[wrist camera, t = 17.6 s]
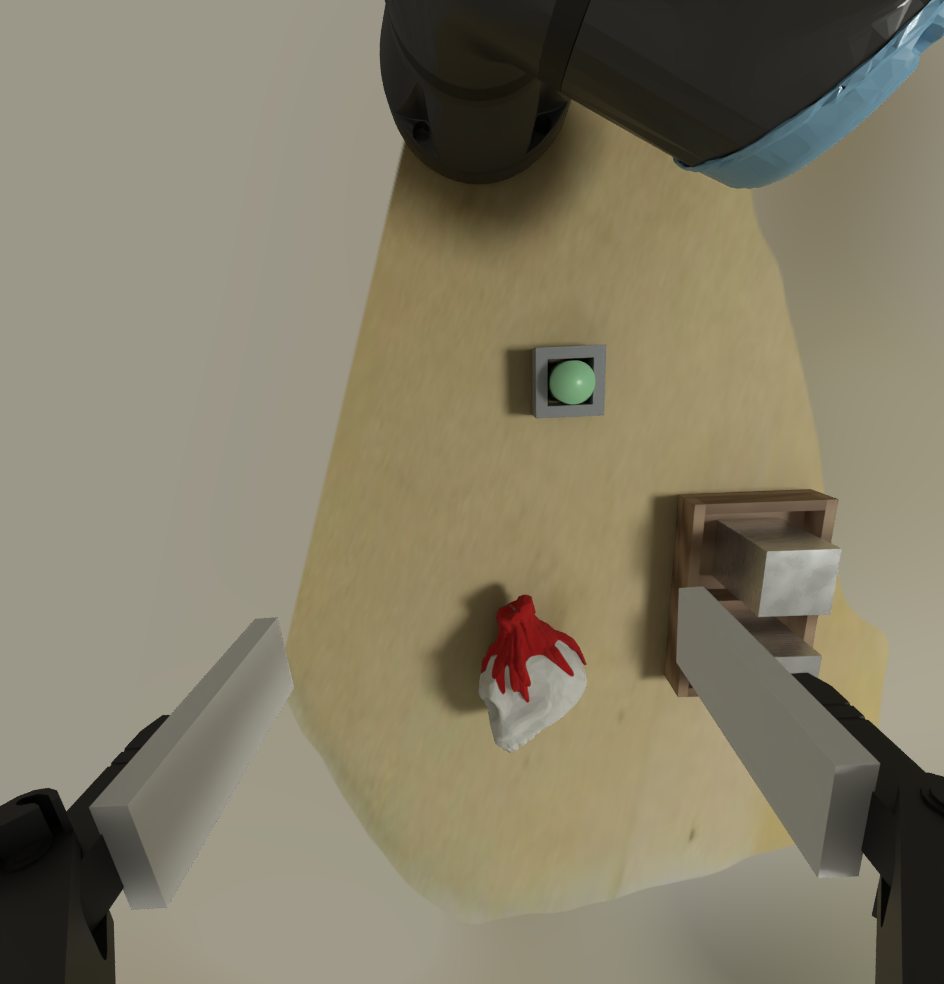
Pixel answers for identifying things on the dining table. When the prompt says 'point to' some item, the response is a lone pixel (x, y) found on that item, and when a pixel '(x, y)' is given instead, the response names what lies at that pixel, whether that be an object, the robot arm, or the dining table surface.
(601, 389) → the button housing
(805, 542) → the block
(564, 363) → the button
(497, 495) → the dining table surface
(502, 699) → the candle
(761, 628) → the block
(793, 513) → the wooden cubby shelf
